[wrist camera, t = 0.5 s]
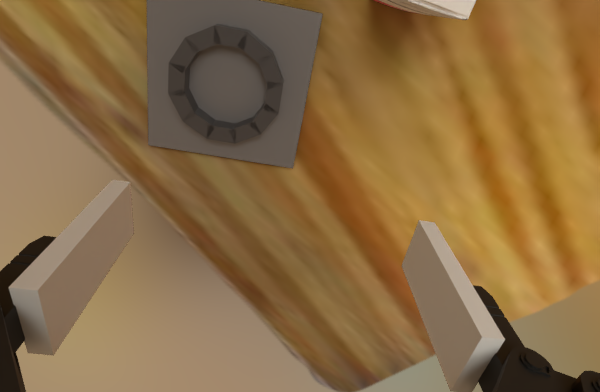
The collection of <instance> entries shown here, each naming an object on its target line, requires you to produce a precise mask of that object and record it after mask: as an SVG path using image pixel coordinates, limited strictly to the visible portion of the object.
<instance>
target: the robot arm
mask: <svg viewBox="0 0 600 392" xmlns="http://www.w3.org/2000/svg"><path fill="white" fill-rule="evenodd" d="M133 234H134V227H133V213H132V198H131V184H130V182H127V181H119V180H111V181H110V182H109V183H108V184H107V186H106V187H105V188H104V189H103V190H102V191H101V192H100V193H99V194H98V195H97V196H96V197H95V198H94V199H93V200H92V201H91V202H90V203H89V204H88V205H87V206H86V207H85V208H84V209H83V210H82V212H81V213H80V214H79V215H78V216H77V217H76V218H75V219H74V220H73V221H72V222H71V223H70V224H69V225H68V226H67V227H66V228H65V229H64V230H63V231H62V232H61V233H60V234H59V235H58V236H57V237H50V236H43V237H41V238H39V239H37V240H35V241H33V242H32V243H30V244H28V245H27V246H26V247H25V248H24V249H23V250H22V251H21V252H20V253H19V255H17V256H16V257H15V258H14V259H13V260H12V261H11V263H10V264H8V265H6V266H5V267H4V268H3V269H2V270H1V271H0V392H26V390H25V387H24V382H23V378H22V375H21V371H20V366H19V362H18V358H17V355H16V351H17V349H18V348H19V347H20V345H21V344H22V343H23V342H24V341H25V345H26V348H27V352H28V353H33V354H45V355H54V354H55V352H56V351H57V349H58V348H59V346H60V345H61V343H62V342H63V340H64V339H65V337H66V335H67V334H68V333H69V331H70V330H71V328H72V327H73V325H74V323H75V322H76V321H77V319H78V318H79V316H80V315H81V313H82V311H83V310H84V308H85V307H86V305H87V304H88V302H89V301H90V299H91V298H92V296H93V295H94V293H95V292H96V290H97V289H98V287H99V286H100V284H101V283H102V281H103V280H104V278H105V277H106V275H107V274H108V272H109V271H110V269H111V267H112V266H113V264H114V263H115V261H116V260H117V258H118V257H119V255H120V254H121V252H122V251H123V249H124V248H125V246H126V245H127V243H128V242H129V240H130V239H131V237H132V236H133ZM402 268H403V271H404V273H405V276H406V278H407V281H408V283H409V286H410V289H411V291H412V294H413V296H414V299H415V301H416V304H417V307H418V309H419V312H420V314H421V317H422V319H423V322H424V325H425V327H426V330H427V332H428V335H429V337H430V340H431V342H432V345H433V348H434V350H435V353H436V355H437V358H438V360H439V363H440V366H441V368H442V371H443V373H444V376H445V378H446V381H447V384H448V386H449V389H450V391H454V392H472V391H473V389H474V388H475V386H476V385H477V383H478V382H479V384H480V386H481V388H482V391H483V392H600V373H597V372H593V371H584V372H583V373H582V374H581V375H580V376H579V377H578V378H577V379H576V378H573V377H571V376H568V375H565V374H562V373H560V372H557V371H554V370H553V368H552V366H551V365H550V363H549V362H548V361H547V360H546V359H545V358H544V357H542V356H541V355H540V354H538V353H537V352H535V351H533V350H531V349H528V348H525V347H524V345H523V344H522V342H521V341H520V339H519V337H518V336H517V334H516V333H515V331H514V330H513V328H512V327H511V325H510V323H509V322H508V320H507V319H506V318H504V314H503V313H502V311H501V309H499V306H498V305H497V303H496V302H495V300H494V299H493V297H492V296H491V295H490V294H489V293H488V292H487V291H486V290H485V289H483V288H482V287H481V286H473V285H472V284H471V282H470V280H469V279H468V277H467V275H466V274H465V272H464V270H463V269H462V267H461V265H460V264H459V262H458V260H457V259H456V257H455V256H454V254H453V252H452V251H451V249H450V247H449V246H448V244H447V242H446V241H445V239H444V237H443V236H442V234H441V232H440V231H439V229H438V227H437V226H436V224H435V222H428V221H420V220H419V221H418V224H417V227H416V229H415V232H414V235H413V237H412V240H411V243H410V245H409V248H408V250H407V253H406V256H405V258H404V261H403V264H402Z"/></svg>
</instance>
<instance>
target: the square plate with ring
mask: <svg viewBox="0 0 600 392" xmlns="http://www.w3.org/2000/svg"><path fill="white" fill-rule="evenodd" d="M322 15H323V14H322V13H318V12H313V11H308V10H303V9H298V8H294V7H289V6H284V5H279V4H274V3H270V2H265V1H260V0H147V64H148V145H151V146H157V147H164V148H170V149H176V150H182V151H188V152H194V153H201V154H207V155H213V156H219V157H225V158H231V159H238V160H244V161H250V162H256V163H262V164H269V165H275V166H281V167H287V168H293V166H294V160H295V155H296V150H297V145H298V140H299V134H300V129H301V124H302V119H303V113H304V108H305V103H306V98H307V93H308V87H309V82H310V77H311V72H312V67H313V61H314V56H315V51H316V46H317V41H318V35H319V30H320V25H321V20H322Z"/></svg>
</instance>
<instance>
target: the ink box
mask: <svg viewBox="0 0 600 392" xmlns="http://www.w3.org/2000/svg"><path fill="white" fill-rule="evenodd" d="M374 1H377V2H379V3H382V4H385V5H387V6H390V7H393V8H397V9H400V10H404V11H407V12H412V13H418V14H425V15H432V16H439V17H446V18H454V19H461V20H467V19H468V18H469V16H470V13H471V11H472V9H473V7H474V4H475V2H476V0H374Z"/></svg>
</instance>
